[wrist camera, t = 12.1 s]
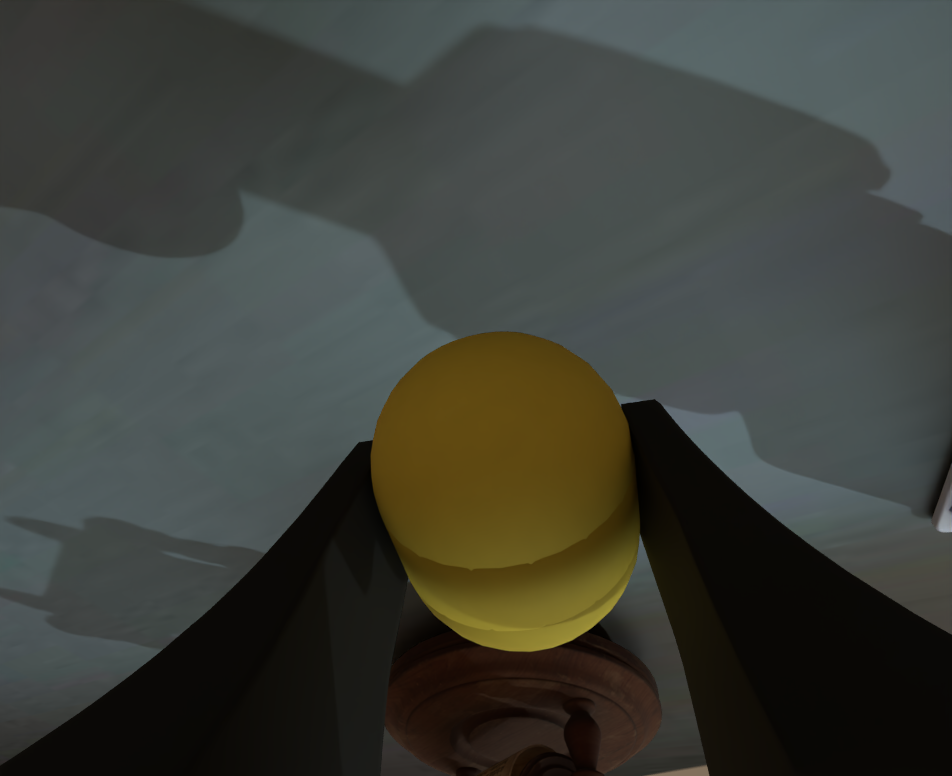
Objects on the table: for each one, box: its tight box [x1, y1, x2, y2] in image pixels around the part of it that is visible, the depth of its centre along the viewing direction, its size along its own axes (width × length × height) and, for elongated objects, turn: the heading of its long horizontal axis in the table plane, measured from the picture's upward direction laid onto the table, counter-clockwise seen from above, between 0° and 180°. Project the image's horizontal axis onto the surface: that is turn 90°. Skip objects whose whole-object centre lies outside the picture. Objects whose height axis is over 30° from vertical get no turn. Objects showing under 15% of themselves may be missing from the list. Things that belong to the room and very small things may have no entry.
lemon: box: [371, 332, 640, 652], centre depth 10 cm, size 6×5×5 cm
